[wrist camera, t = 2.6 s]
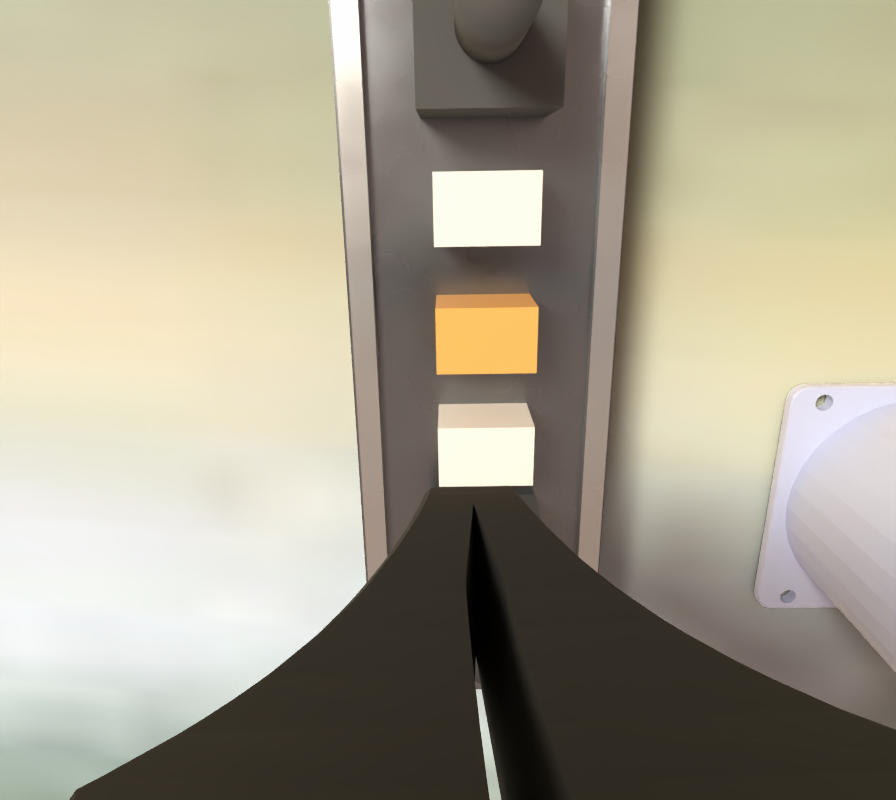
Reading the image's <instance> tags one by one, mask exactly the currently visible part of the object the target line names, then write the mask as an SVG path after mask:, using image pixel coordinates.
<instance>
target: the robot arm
mask: <svg viewBox="0 0 896 800" xmlns="http://www.w3.org/2000/svg"><path fill="white" fill-rule="evenodd" d="M822 395H826V400H825V402H824V403H823V404H822V405H820V406H817V407H816V401H817V399H818V398H819V397H820V396H822ZM787 590H790V591H789V593H788V594H786V595H784V596H781V594H782V593H783V592H784V591H787ZM754 596H755V598H756V599H757V601H758V602H759V603H760V605H762V606H763V607H765V608H838V609H839V610H840V611H841V612H842V613H843V614H844V616H845V617H846V618H847V619H848V620H849V621H850V622H851V623H852V624H853V626H854V627H855V628H856V629H857V630H858V631H859V632H860V633H861V635H862V636H863V637H864V638H865V639H866V640H867V641H868V642H869V643H870V645H871V646H872V647H873V648H874V649H875V650H876V651H877V652H878V654H879V655H880V656H881V657H882V658H883V659H884V660H885V661H886V662H887V664H888V665H889V666H890V667H891V668H892V669H893V670H894V671H895V673H896V383H833V384H802V385H798V386H796V387H794V388H792V390H791V391H790V392H789V393H788V395H787V398H786V401H785V407H784V413H783V419H782V425H781V431H780V437H779V443H778V449H777V455H776V461H775V467H774V473H773V479H772V485H771V491H770V497H769V503H768V509H767V515H766V521H765V527H764V533H763V539H762V545H761V551H760V557H759V563H758V569H757V575H756V581H755V587H754ZM476 660H477V666H478V671H479V677H480V683H481V688H482V694H483V699H484V705H485V711H486V716H487V722H488V727H489V733H490V738H491V744H492V749H493V755H494V760H495V766H496V771H497V777H498V782H499V788H500V793H501V800H896V730H895V729H892V728H889V727H887V726H884V725H881V724H879V723H876V722H873V721H870V720H868V719H865V718H862V717H860V716H857V715H854V714H852V713H849V712H846V711H844V710H841V709H839V708H837V707H834V706H832V705H829V704H827V703H825V702H823V701H820V700H818V699H816V698H814V697H811V696H809V695H807V694H805V693H802V692H800V691H798V690H796V689H794V688H791V687H789V686H787V685H785V684H782V683H780V682H778V681H776V680H773V679H771V678H769V677H767V676H765V675H763V674H761V673H759V672H757V671H755V670H753V669H751V668H749V667H747V666H745V665H743V664H741V663H739V662H737V661H735V660H733V659H731V658H729V657H727V656H725V655H724V654H722V653H720V652H718V651H716V650H715V649H713V648H711V647H709V646H707V645H706V644H704V643H702V642H700V641H698V640H696V639H695V638H693V637H691V636H689V635H687V634H686V633H684V632H682V631H681V630H679V629H677V628H676V627H674V626H673V625H671V624H669V623H668V622H666V621H664V620H663V619H661V618H660V617H658V616H657V615H655V614H654V613H652V612H651V611H649V610H648V609H646V608H645V607H643V606H642V605H640V604H639V603H638V602H636V601H635V600H633V599H632V598H630V597H629V596H627V595H626V594H624V593H623V592H622V591H620V590H619V589H618V588H616V587H615V586H614V585H612V584H611V583H610V582H608V581H607V580H606V579H605V578H603V577H602V576H601V575H600V574H599V573H597V572H596V571H595V570H594V569H593V568H591V567H590V566H589V565H588V564H586V563H585V562H584V561H583V560H582V559H581V558H579V557H578V556H577V555H576V554H575V553H574V552H573V551H572V550H571V549H570V548H569V547H568V546H567V545H566V544H565V543H564V542H563V541H562V540H560V539H559V538H558V537H557V536H556V535H555V534H554V533H553V532H552V531H551V530H550V529H549V528H548V527H547V526H546V525H545V523H544V522H543V521H542V520H541V519H540V518H539V517H538V516H537V515H536V514H535V513H534V512H533V511H532V509H531V508H530V507H529V506H528V505H527V504H526V503H525V502H524V500H523V499H522V498H521V497H520V496H519V495H518V494H517V492H516V491H515V490H513V489H512V488H511V487H510V486H481V487H451V488H431V489H429V490H428V491H427V492H426V493H425V494H424V496H423V499H422V501H421V503H420V505H419V507H418V509H417V511H416V513H415V515H414V517H413V518H412V520H411V522H410V523H409V525H408V527H407V529H406V530H405V532H404V533H403V535H402V536H401V538H400V539H399V541H398V542H397V543H396V545H395V546H394V548H393V549H392V551H391V552H390V554H389V555H388V557H387V558H386V559H385V561H384V562H383V563H382V564H381V566H380V567H379V568H378V569H377V571H376V572H375V573H374V574H373V576H372V577H371V578H370V579H369V581H368V582H367V583H366V584H365V585H364V587H363V588H362V589H361V590H360V591H359V593H358V594H357V595H356V596H355V597H354V598H353V599H352V600H351V601H350V603H349V604H348V605H347V606H346V607H345V608H344V609H343V610H342V611H341V612H340V613H339V614H338V615H337V616H336V617H335V618H334V619H333V620H332V621H331V622H330V623H329V624H328V625H327V626H326V627H325V628H324V629H323V630H322V631H321V632H320V633H319V634H318V635H316V636H315V637H314V638H313V639H312V640H311V641H310V642H308V643H307V644H306V645H305V646H303V647H302V648H301V649H300V650H298V651H297V652H296V653H295V654H294V655H292V656H291V657H290V658H289V659H287V660H286V661H285V662H284V663H282V664H281V665H280V666H279V667H278V668H276V669H275V670H274V671H273V672H271V673H270V674H269V675H267V676H266V677H265V678H263V679H262V680H260V681H259V682H258V683H256V684H255V685H253V686H252V687H250V688H249V689H248V690H246V691H245V692H243V693H242V694H241V695H239V696H238V697H236V698H235V699H233V700H232V701H230V702H229V703H227V704H226V705H224V706H222V707H221V708H219V709H218V710H216V711H215V712H213V713H212V714H210V715H209V716H207V717H205V718H204V719H202V720H201V721H199V722H198V723H196V724H194V725H193V726H191V727H189V728H188V729H186V730H184V731H183V732H181V733H179V734H178V735H176V736H174V737H172V738H171V739H169V740H167V741H165V742H163V743H162V744H160V745H158V746H156V747H154V748H153V749H151V750H149V751H147V752H145V753H144V754H142V755H140V756H138V757H136V758H135V759H133V760H131V761H129V762H127V763H126V764H124V765H122V766H120V767H118V768H116V769H115V770H113V771H111V772H109V773H107V774H106V775H104V776H102V777H100V778H98V779H96V780H94V781H92V782H90V783H88V784H87V785H85V786H83V787H81V788H79V789H77V790H76V791H75V792H74V794H73V795H72V797H71V798H70V800H490V799H489V792H488V785H487V778H486V770H485V762H484V755H483V747H482V739H481V732H480V724H479V715H478V706H477V697H476V688H475V668H476Z"/></svg>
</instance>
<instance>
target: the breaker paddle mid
mask: <svg viewBox="0 0 896 800" xmlns="http://www.w3.org/2000/svg"><path fill="white" fill-rule="evenodd" d="M538 311H539V307H538V305H537V304H536V303H535V301H534V300H533V298H532V297H531V295H530V294H468V295H437V296H436V306H435V320H436V367H437V375H440V374H512V373H537V343H538Z"/></svg>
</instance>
